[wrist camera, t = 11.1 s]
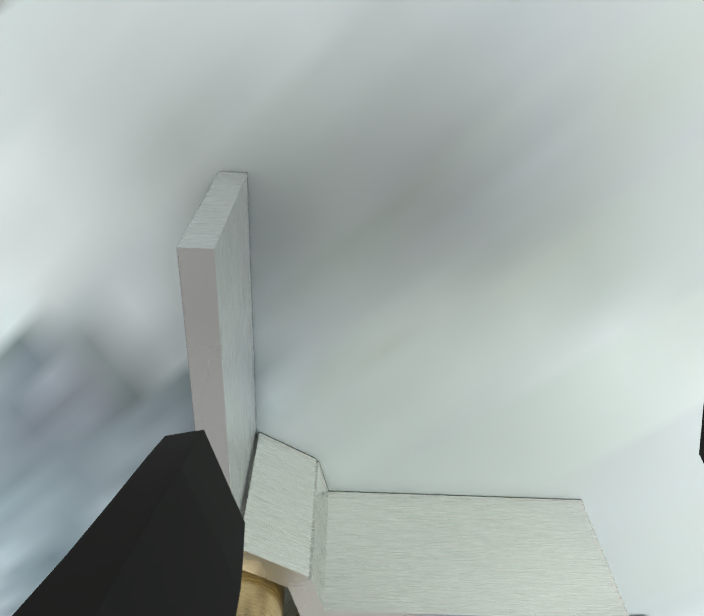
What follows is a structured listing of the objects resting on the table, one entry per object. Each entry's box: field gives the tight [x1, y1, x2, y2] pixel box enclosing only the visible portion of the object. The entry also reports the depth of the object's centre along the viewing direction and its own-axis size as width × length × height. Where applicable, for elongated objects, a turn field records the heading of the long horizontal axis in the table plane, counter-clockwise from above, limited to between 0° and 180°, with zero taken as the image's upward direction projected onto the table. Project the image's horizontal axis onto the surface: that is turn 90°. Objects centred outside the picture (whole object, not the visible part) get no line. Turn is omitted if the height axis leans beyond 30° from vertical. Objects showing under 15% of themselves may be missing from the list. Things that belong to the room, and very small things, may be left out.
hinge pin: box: [236, 570, 285, 616], centre depth 21 cm, size 4×4×8 cm
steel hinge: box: [177, 172, 629, 616], centre depth 20 cm, size 16×16×5 cm
